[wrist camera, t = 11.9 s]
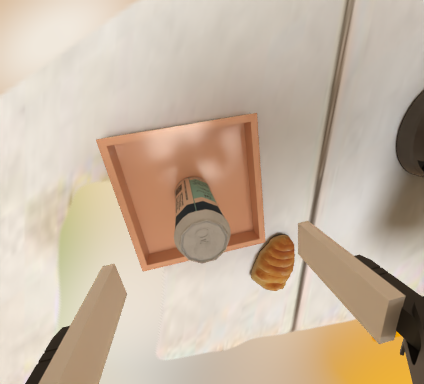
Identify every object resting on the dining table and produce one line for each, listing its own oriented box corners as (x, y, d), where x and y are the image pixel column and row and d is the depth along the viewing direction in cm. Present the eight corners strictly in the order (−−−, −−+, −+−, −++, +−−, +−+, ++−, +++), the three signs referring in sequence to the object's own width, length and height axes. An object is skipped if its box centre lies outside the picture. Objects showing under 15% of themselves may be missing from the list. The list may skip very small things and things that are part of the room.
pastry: (263, 230, 32) (273, 243, 29) (298, 234, 34) (312, 247, 30) (247, 275, 35) (255, 293, 31) (280, 277, 36) (291, 294, 33)
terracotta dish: (246, 114, 25) (256, 113, 22) (256, 229, 32) (265, 242, 28) (107, 137, 23) (95, 139, 20) (146, 255, 30) (142, 271, 26)
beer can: (179, 212, 27) (181, 274, 16) (170, 180, 25) (166, 224, 14) (212, 204, 28) (237, 258, 16) (206, 172, 26) (229, 208, 15)
